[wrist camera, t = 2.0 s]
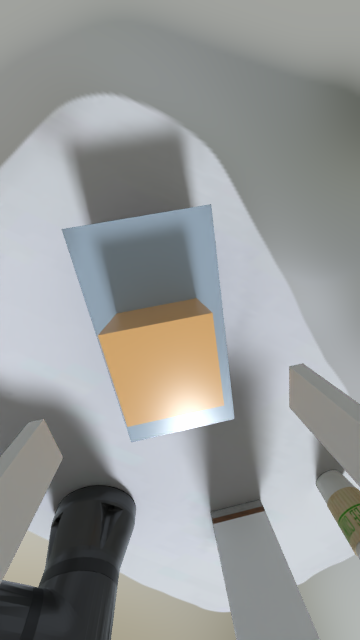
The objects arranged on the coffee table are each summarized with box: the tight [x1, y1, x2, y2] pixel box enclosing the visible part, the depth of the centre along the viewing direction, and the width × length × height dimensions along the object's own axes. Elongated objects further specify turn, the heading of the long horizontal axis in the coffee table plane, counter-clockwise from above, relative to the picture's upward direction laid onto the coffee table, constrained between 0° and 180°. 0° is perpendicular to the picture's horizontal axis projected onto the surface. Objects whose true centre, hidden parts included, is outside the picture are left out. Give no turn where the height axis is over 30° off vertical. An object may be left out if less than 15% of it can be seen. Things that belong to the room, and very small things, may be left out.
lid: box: [62, 204, 234, 442], centre depth 18 cm, size 13×24×8 cm, turn 10°
